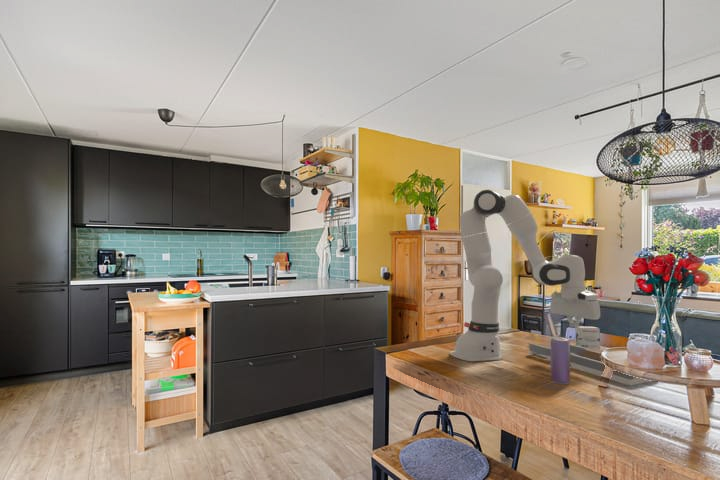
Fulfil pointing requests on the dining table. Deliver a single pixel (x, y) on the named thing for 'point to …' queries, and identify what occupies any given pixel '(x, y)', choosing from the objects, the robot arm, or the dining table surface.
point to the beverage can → (560, 360)
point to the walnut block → (593, 354)
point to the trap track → (584, 363)
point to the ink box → (588, 337)
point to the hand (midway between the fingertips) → (574, 327)
